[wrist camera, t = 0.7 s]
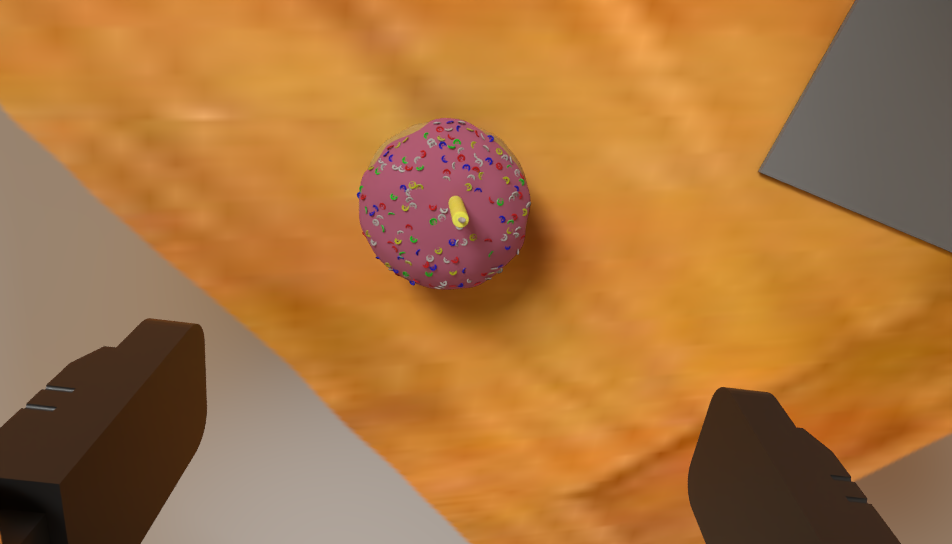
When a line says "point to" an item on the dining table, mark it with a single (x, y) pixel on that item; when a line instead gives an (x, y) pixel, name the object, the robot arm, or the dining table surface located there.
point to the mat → (879, 120)
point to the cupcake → (444, 204)
